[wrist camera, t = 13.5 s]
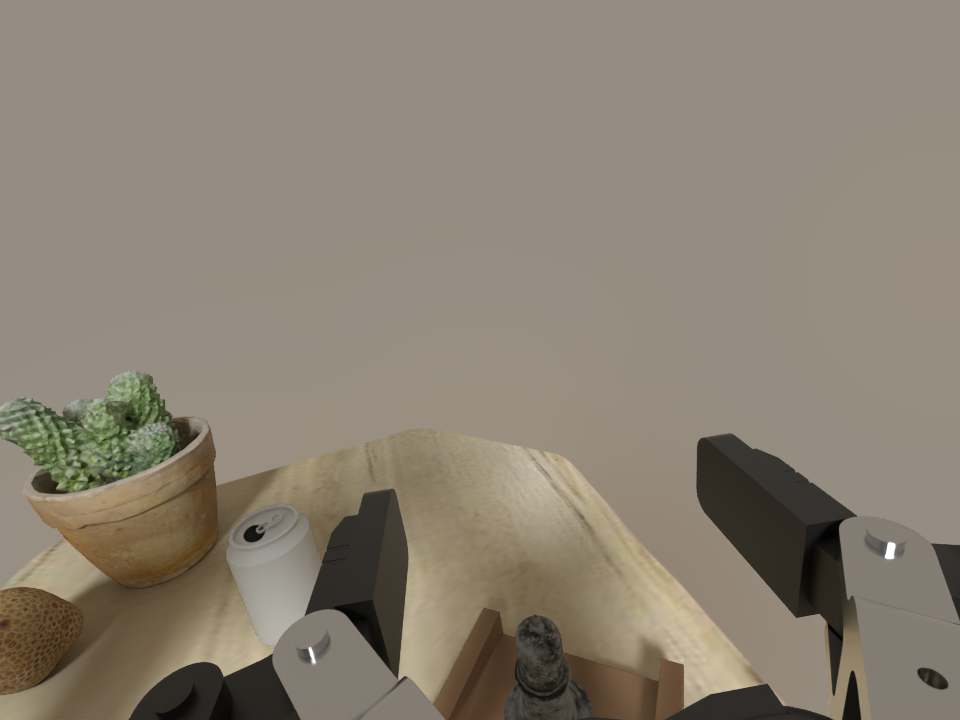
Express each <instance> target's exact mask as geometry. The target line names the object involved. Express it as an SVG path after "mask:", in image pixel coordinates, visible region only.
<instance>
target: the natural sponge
mask: <svg viewBox="0 0 960 720" xmlns="http://www.w3.org/2000/svg"><path fill="white" fill-rule="evenodd" d="M82 627H83V616H82V613H81V612H80V610H79V609H78V608H77V607H76V606H75V605H73V604H72V603H70V602H68V601H66V600H64V599H62V598H59V597H58V596H56V595H53V594H51V593H48V592H46V591H44V590H41V589H36V588H28V587H18V588H10V589H5V590H1V591H0V695H7V694H13V693H17V692H21V691H24V690H27V689H30V688H31V687H33V686H35V685H37V684H38V683H40V682H41V681H42V680H43V679H44V678H46V677H47V676H48V675H49V673H50V672H51V671H52V670H53V669H54V667H55V666H56V664H57V663H58V661H59V659H60V658H61V657H62V655H63V654H64V653H65V652H66V651H67V650H68V649H69V648H70V646H71V645H72V644H73V643H74V641H75V640H76V639H77V637H78V636H79V634H80V632H81V630H82Z"/></svg>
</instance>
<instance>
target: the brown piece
mask: <svg viewBox="0 0 960 720" xmlns="http://www.w3.org/2000/svg"><path fill="white" fill-rule="evenodd" d="M563 655H564V656H565V657H566V658H567V660H568V662H569V664H570V669H571V678H572V679H574V680H575V681H576V682H578V684H579V685H580V686H581V687H582V688H583V689H584V690H585V692H586V694H587V696H588V698H589V699H590V701H591V705H592V709H593V713H594V717H598V718H609V719H620V720H665V719H667V718H668V717H670V716H672V715H674V714H676V713H678V712H679V711H681V710H683V707H684V665H683V664H679V663H676V662H672V661H669V660H665V659H662V658H661V667H660V677H659V682H658V681H655V680H651V679H648V678H645V677H642V676H638V675H635V674H632V673H629V672H625V671H622V670H619V669H616V668H612V667H609V666H606V665H603V664H599V663H596V662H593V661H590V660H586V659H583V658H580V657H577V656H573V655H570V654H567V653H564V652H563ZM517 659H518V654H517V647H516V640H515V637H511V636H508V635H505V634H503V630H502V624H501V618H500V612H497V611H493V610H490V609H486V608H484V609H483V611H482V612H481V614H480V616H479V618H478V620H477V622H476V624H475V626H474V628H473V630H472V632H471V634H470V636H469V637H468V639H467V641H466V643H465V645H464V647H463V649H462V651H461V653H460V655H459V657H458V659H457V661H456V663H455V664H454V666H453V668H452V670H451V672H450V674H449V676H448V678H447V680H446V682H445V684H444V686H443V688H442V689H441V691H440V693H439V695H438V697H437V699H436V701H435V703H434V707H435V708H436V709H437V710H438V711H439V713H440V714H441V715H442V716H443V717H444V719H445V720H504V710H505V704H506V700H507V698H508V695H509V693H510V691H511V690H512V688H513V687H514V686H515V685H516V683H517V682H516V679H515V672H514V670H515V664H516V661H517Z"/></svg>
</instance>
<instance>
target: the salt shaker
mask: <svg viewBox="0 0 960 720" xmlns="http://www.w3.org/2000/svg"><path fill="white" fill-rule="evenodd" d="M515 640H516V647H517V654H518V659H517V661H516V664H515V670H514V672H515V679H516V682H517V683H516V685H515V686H514V687H513V688H512V690H511V691H510V693H509V695H508V698H507V700H506V704H505V710H504V720H576V719H581V718H587V717H594V713H593V709H592V705H591V701H590V699H589V698H588V696H587V694H586V692H585V690H584V689H583V688H582V687H581V686H580V685H579V684H578V682H576V681H575V680H574V679H572V678H571V669H570V664H569V662H568V660H567V658H566V657H565V656H564V655H563V650H562V641H561V636H560V632H559V630H558V628H557V626H556V625H555V624H554V623H553V622H552V621H551V620H549V619H548V618H546V617H543V616H537V615H534V616H531V617H528V618H526V619H525V620H524V621H522V622H521V624H520V625H519V626H518V628H517V631H516V638H515Z"/></svg>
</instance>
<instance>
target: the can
mask: <svg viewBox="0 0 960 720" xmlns="http://www.w3.org/2000/svg"><path fill="white" fill-rule="evenodd" d="M228 542H229V543H230V544H229V546H228V548H227V550H226V559H227V562H228V564H229V567H230V570H231V572H232V575H233V577H234V580H235V582H236V585H237V587H238V590H239V592H240V595H241V597H242V600H243V602H244V605H245V607H246V610H247V612H248V615H249V618H250V620H251V623H252V625H253V628H254V630H255V633H256V635H257V637H258V638H259V640H260V641H261V642H263V643H265V644H267V645H269V646H276V644H277V642H278V640H279V639H280V637H281V636H282V634H283V633H284V632H285V631H286V630H287V629H288V628H289V627H290V626H291V625H292V624H294V623H295V622H296V621H298V620H299V619H301V618H302V617H304V615H305V612H306V609H307V606H308V603H309V600H310V597H311V594H312V591H313V588H314V585H315V582H316V579H317V576H318V573H319V570H320V567H321V565H322V562H321V559H320V556H319V553H318V549H317V546H316V543H315V540H314V537H313V534H312V530H311V527H310V524H309V521H308V518H307V517H306V516H304V515H303V514H301V513H298V509H297V508H296V507H294V506H293V505H288V504H276V505H271V506H267V507H264V508H261V509H259V510H256V511H255V512H253V513H251V514H249V515H247V516H246V517H244V518H243V519H242V520H240V521H239V522H238V523H237V524H236V525H235V526H234V527H233V528H232V530H231V532H230V534H229V536H228Z"/></svg>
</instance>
